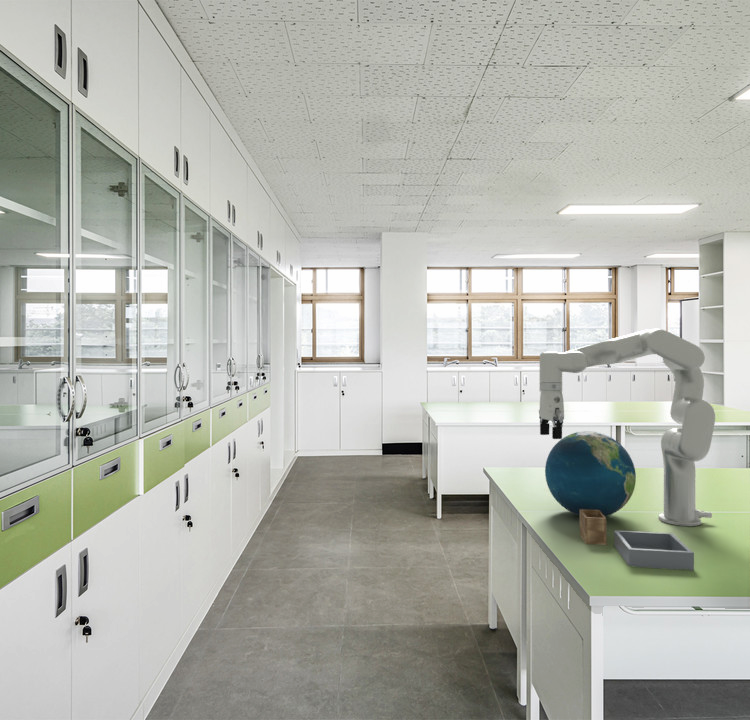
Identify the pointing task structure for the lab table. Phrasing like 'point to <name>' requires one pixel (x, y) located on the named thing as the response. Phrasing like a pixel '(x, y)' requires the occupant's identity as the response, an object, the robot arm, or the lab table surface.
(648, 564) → the shallow gray tray
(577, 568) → the lab table surface
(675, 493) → the robot arm
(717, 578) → the lab table surface
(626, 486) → the globe
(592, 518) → the small crate
